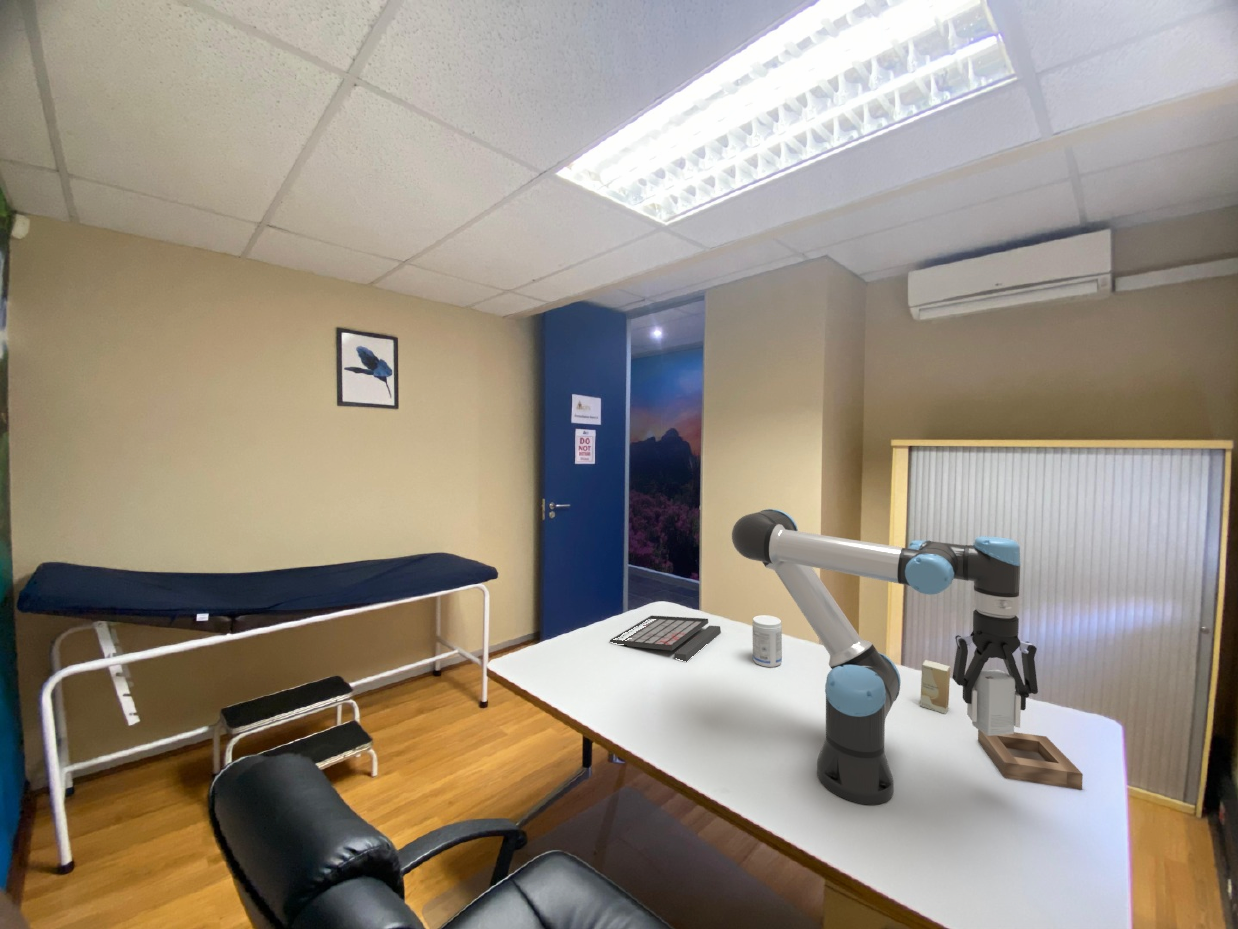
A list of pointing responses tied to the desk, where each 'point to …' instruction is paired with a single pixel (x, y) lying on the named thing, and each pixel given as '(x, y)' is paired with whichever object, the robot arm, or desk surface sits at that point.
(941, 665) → the skincare box
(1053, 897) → the desk surface
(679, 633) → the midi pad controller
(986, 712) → the skincare box
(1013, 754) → the socket block
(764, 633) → the supplement tub
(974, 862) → the desk surface
